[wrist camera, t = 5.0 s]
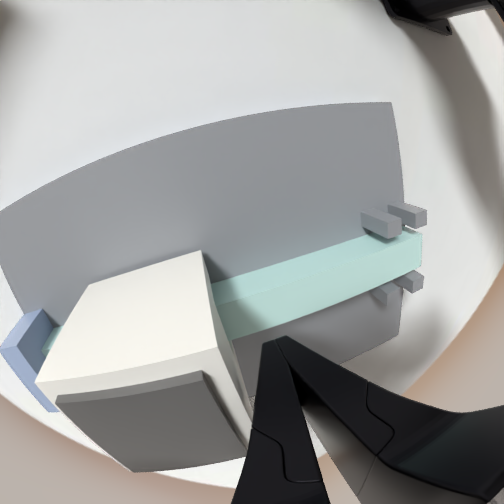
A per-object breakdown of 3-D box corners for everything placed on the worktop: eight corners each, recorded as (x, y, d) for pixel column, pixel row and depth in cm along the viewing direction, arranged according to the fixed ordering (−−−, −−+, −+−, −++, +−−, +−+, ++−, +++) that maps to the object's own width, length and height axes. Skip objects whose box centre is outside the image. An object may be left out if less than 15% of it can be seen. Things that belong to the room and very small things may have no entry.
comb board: (378, 104, 11) (436, 97, 7) (389, 327, 16) (425, 360, 13) (-5, 216, 8) (-53, 241, 5) (109, 413, 14) (103, 460, 10)
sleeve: (200, 249, 10) (218, 356, 5) (233, 346, 12) (267, 456, 7) (88, 284, 10) (30, 390, 4) (137, 371, 12) (129, 478, 6)
